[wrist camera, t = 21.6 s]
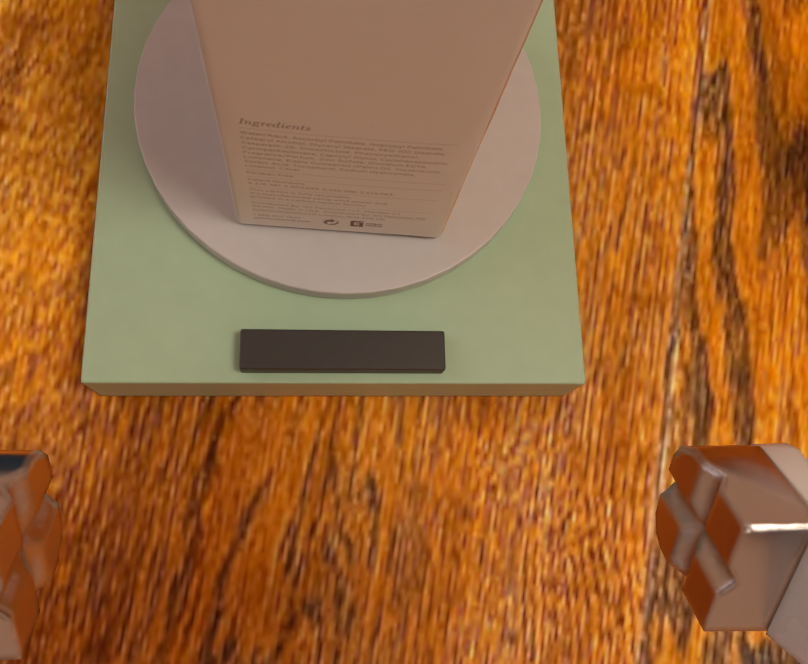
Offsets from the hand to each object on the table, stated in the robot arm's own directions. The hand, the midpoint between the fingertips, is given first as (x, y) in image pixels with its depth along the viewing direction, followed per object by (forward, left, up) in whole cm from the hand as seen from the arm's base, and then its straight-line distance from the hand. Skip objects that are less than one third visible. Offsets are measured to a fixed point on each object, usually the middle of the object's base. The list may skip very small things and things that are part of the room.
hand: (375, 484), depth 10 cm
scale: (0, +12, -14) cm, 19 cm away
